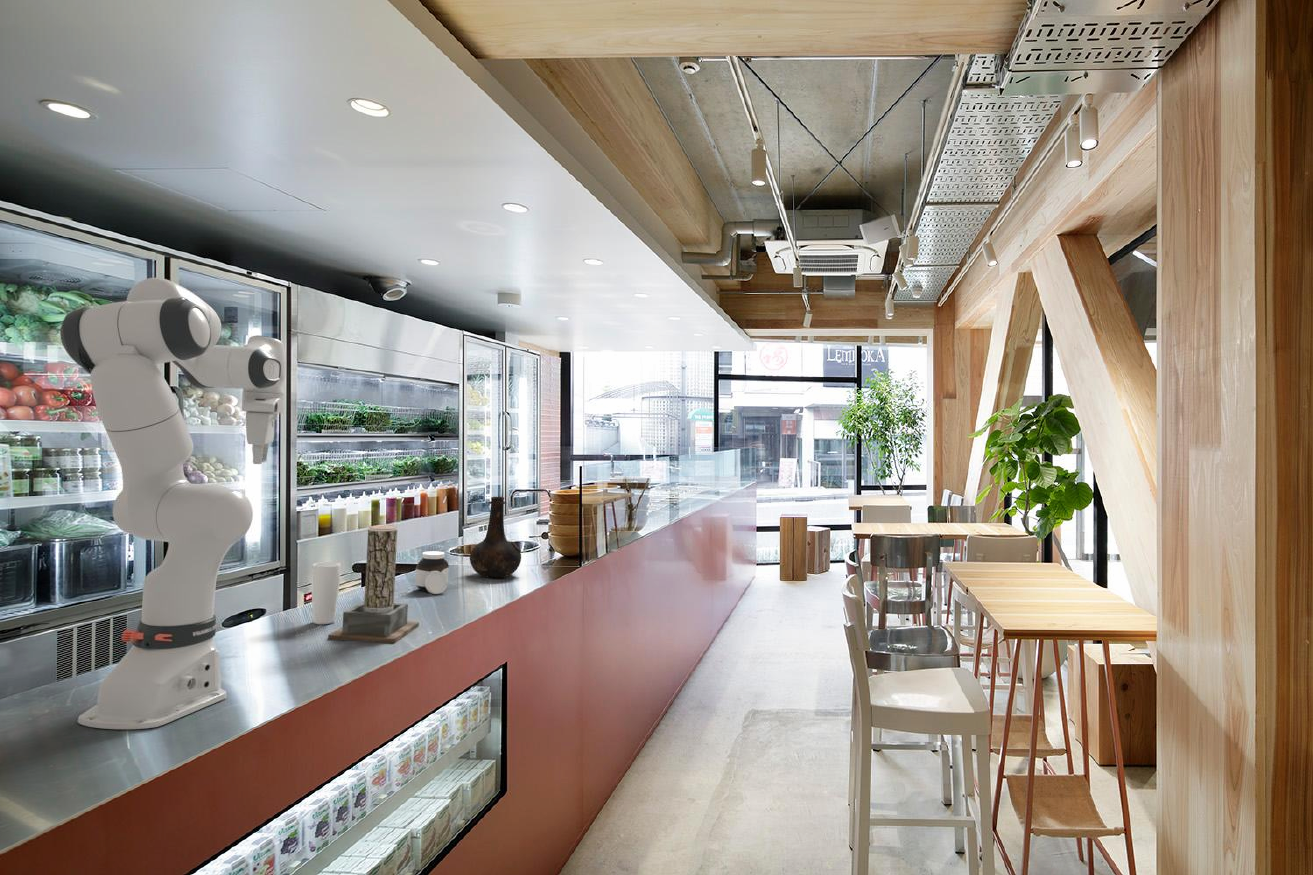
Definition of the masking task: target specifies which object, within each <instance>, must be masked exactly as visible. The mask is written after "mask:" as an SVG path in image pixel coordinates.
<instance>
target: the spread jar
mask: <svg viewBox="0 0 1313 875" xmlns="http://www.w3.org/2000/svg"><path fill="white" fill-rule="evenodd" d="M445 555H446V554H445V552H444V551H435V550H434V551H433V550H431V551H430V550H429V551H423V552H422V553H421V559H420V560H419V561H418V563H417V564H416V568H415V574H414V575H415V577H414V578H415V580H414V582H415V583H414V584H415V586H416V588H417V589H419V590H420V591H421V592H427V593H430V594H432V595H439V594H441V593H443V592H445V591H446V590H447V588H448V584H449V583H448V582H449V578H450V566H449V563H448V560H446V559H445Z"/></svg>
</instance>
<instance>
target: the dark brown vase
mask: <svg viewBox="0 0 1313 875" xmlns="http://www.w3.org/2000/svg"><path fill="white" fill-rule="evenodd" d="M504 499H505V497H504V496H492V497H491V500H490V501H488V504H490V512H489V521H488V526H487V531H486V534H485V536H484V539H483V540H482V541H481V542H478V543H477V544H476V545H475V546H474V547H473V548H472V549H471V550H470V554H469V563H470V566H471V567H472V569H473V570H474V572H475V573H476V574H478V575H479V576H482V577H485V578H490V579H491V578H493V579H497V578H498V579H501V578H505V577H510V576H511V575H513V574H514V573H515V572H516V571H517V569H518V568H519V566H520V564H521V561H522V553H521V552H522V550H521V548H520V547H519V546H518V544H517V543H516V542H514V541H512V542H510V541H508V540H507V537H506V534H505V521H504V520H505V519H504V505H506V504H507V502H506V501H504ZM500 577H501V578H500Z"/></svg>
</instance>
